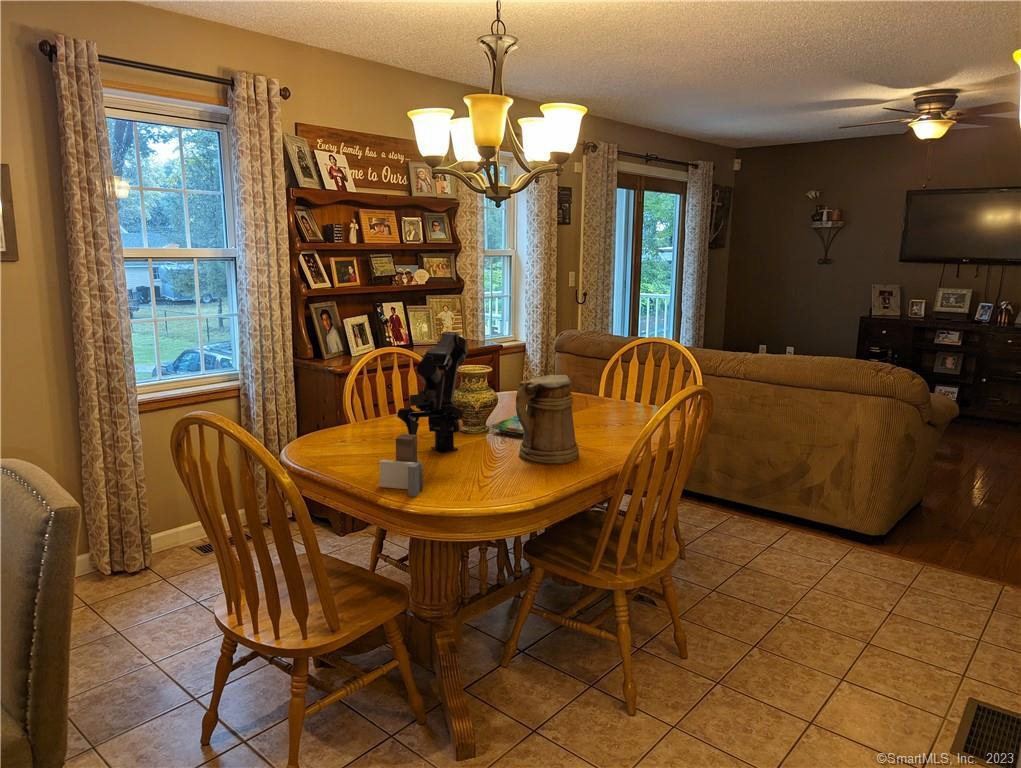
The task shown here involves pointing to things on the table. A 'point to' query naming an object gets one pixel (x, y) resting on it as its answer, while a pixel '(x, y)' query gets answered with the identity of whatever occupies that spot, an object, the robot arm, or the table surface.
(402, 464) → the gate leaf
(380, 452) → the table surface
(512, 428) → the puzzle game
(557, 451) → the tankard
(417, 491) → the gray upright block
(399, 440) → the doorstop post
